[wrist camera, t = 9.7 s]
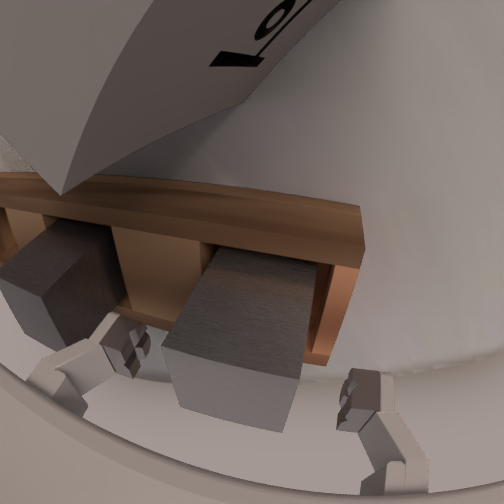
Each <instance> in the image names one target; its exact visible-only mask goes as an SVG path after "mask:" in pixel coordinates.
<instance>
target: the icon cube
mask: <svg viewBox="0 0 504 504" xmlns="http://www.w3.org/2000/svg"><path fill="white" fill-rule="evenodd" d="M339 1H340V0H0V134H1V135H2V136H3V137H4V138H5V139H6V140H7V141H8V142H9V143H10V145H11V146H12V147H13V148H14V149H15V150H16V151H17V152H18V153H19V154H20V155H21V156H22V157H23V158H24V159H25V161H26V162H27V163H28V164H29V165H30V166H31V167H32V168H33V169H34V170H35V171H36V172H37V173H38V174H39V175H40V176H41V177H42V178H43V179H44V180H45V181H46V182H47V183H48V184H49V185H50V186H51V187H52V188H53V189H54V190H55V191H56V192H57V193H58V194H59V195H60V196H61V195H63V194H64V193H66V192H67V191H69V190H70V189H72V188H73V187H75V186H77V185H78V184H80V183H81V182H83V181H85V180H86V179H88V178H89V177H91V176H93V175H94V174H96V173H98V172H99V171H101V170H103V169H105V168H106V167H108V166H110V165H111V164H113V163H115V162H117V161H119V160H120V159H122V158H124V157H126V156H128V155H129V154H131V153H133V152H135V151H137V150H139V149H141V148H143V147H144V146H146V145H148V144H150V143H152V142H154V141H156V140H158V139H160V138H162V137H164V136H166V135H169V134H171V133H173V132H175V131H177V130H179V129H181V128H183V127H186V126H188V125H190V124H192V123H194V122H197V121H199V120H201V119H204V118H206V117H208V116H211V115H213V114H215V113H218V112H220V111H223V110H225V109H228V108H230V107H233V106H235V105H238V104H240V103H243V102H244V101H245V100H246V99H247V98H248V97H249V95H250V94H251V93H252V92H253V91H254V90H255V88H256V87H257V86H258V85H259V84H260V83H261V82H262V80H263V79H264V78H265V77H266V76H267V75H268V74H269V72H270V71H271V70H272V69H273V68H274V67H275V66H276V65H277V64H278V63H279V61H280V60H281V59H282V58H283V57H284V56H285V55H286V54H287V53H288V52H289V51H290V50H291V49H292V48H293V47H294V46H295V44H296V43H297V42H298V41H299V40H300V39H301V38H302V37H303V36H304V35H305V34H306V33H307V32H308V31H309V30H310V29H311V28H312V27H313V26H314V25H315V24H316V23H317V22H318V21H319V20H320V19H321V18H322V17H323V16H324V15H326V14H327V13H328V12H329V11H330V10H331V9H332V8H333V7H334V6H335V5H336V4H337V3H338V2H339Z"/></svg>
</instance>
